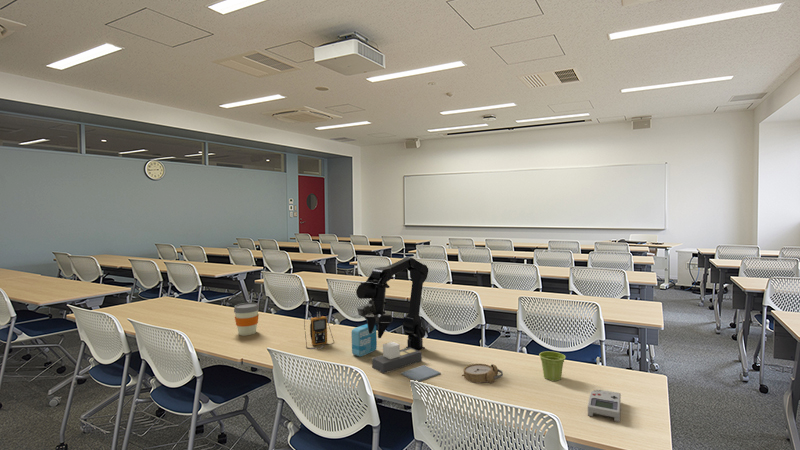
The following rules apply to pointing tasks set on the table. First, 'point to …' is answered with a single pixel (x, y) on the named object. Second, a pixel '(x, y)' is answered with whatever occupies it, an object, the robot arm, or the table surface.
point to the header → (397, 360)
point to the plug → (391, 350)
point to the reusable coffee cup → (246, 318)
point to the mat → (420, 373)
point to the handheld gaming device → (604, 404)
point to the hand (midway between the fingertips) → (374, 335)
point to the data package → (363, 340)
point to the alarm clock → (481, 373)
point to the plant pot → (552, 365)
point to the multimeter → (318, 329)
